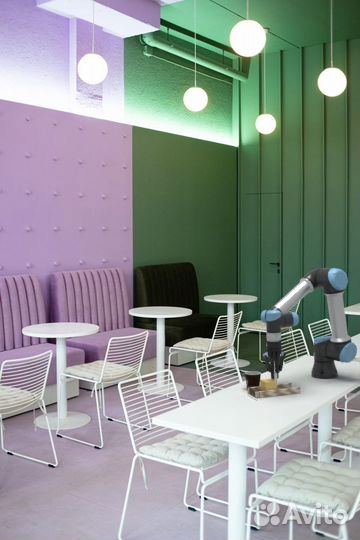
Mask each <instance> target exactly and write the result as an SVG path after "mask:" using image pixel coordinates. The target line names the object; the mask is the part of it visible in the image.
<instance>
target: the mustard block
mask: <svg viewBox="0 0 360 540" xmlns="http://www.w3.org/2000/svg"><path fill="white" fill-rule="evenodd" d="M277 384H278V380H277V381H275V380H273V379H271V377H270V378H263V379H261V378H260V390H261V391H267V390H276V389H277Z"/></svg>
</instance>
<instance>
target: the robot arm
mask: <svg viewBox="0 0 360 540" xmlns="http://www.w3.org/2000/svg"><path fill="white" fill-rule="evenodd" d="M347 275H348V274H347V273H346V272H345V271H344V270H343V269H341V268H336V267H334V268H332V267H318V268H315V269H313V270H310V271H309V272H308V273H306V274H305V275H304V276H303V277H302V278H300V279H299V283H297V284H296V285H294V287H293V288H292V289H291V290H289V292H287V294H285V295H284V296H283V297H282V298H281V299H280V300H279V301H278V302H276V304H275V305H273V306H272V307H271V308H270V309H266V310H262V311H261V313H260V320H261V322H262V323H263V324H266V325H265V327H266V351H265V353H262V358H263V360H264V363H265V367H266V371H267V372H269V373H270V378H271V379H273V380H275V381H277V382H278V379H279V377H280V375H279V374H280V372H282V371H283V367H284V362H285V357H286V355H287V353H286V352H285V351H283V350H282V341H281V340H282V329H283V328H284V329H285V328H290V327H291V328H292V327H295V326H296V327H297V326H298V324H299V323H300V317H299V315H298V314H297V313H296V312H294V311H290V310H292V309H293V308H294V306H296V305H297V304H298V303H299V302H300V301H301V300H302V299H304V297H305V296H307V295H308V294H309V293H313V292H314V291H315V290H318V289H322V291H323V294H324V295H325V297H326V300H327V307H328V308H327V309H328V315H329V322H330V328H331V329H330V330H331V335H326V336H318V337H315V338H314V339H313V366H312V369H311V370H310V371H311V373H310V374H311V377H313V378H316V379H334V378H337V377H338V376H339V371H338V370H337V369H338V368H337V366H336V364H335V361H336V362H340V363H346V364H348V363H349V364H350V363H351V362H352V361H354V359H355V358H356V356H357V353H358V347H357V345H356V344H355V342H352V337H351V336H350V335H348V334H349V332H348V327H347V326H348V325H347V318H346V312H345V305H344V298H343V297H344V296H343V294H344V292H346V291H345V289H346V288H347V287H348V283H349V280H348V279H349V278H348V276H347ZM289 311H290V312H289Z"/></svg>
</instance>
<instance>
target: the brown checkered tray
mask: <svg viewBox="0 0 360 540" xmlns="http://www.w3.org/2000/svg"><path fill="white" fill-rule="evenodd" d="M299 394H301V387H300V386H295V387H294V386H293V383H292V382H285V383H277V389H276V390H267V391H261V390H260V386H258V387H249V388H248V390H247V395H249V396H250V398H251V399H253V398H254V399H255V401H258V400H257V399H264V398H265V399H267V398H274V397H283V396H291V395H299Z"/></svg>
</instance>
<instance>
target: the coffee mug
mask: <svg viewBox="0 0 360 540" xmlns="http://www.w3.org/2000/svg"><path fill="white" fill-rule="evenodd" d="M261 375H262V373H261V372H260V371H256V370H250V371H245V372H244V376H245V384H246V385H245V386H246V390H247V391H248V388H249V387H258V386H260V380H261V378H262V377H261Z"/></svg>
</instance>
